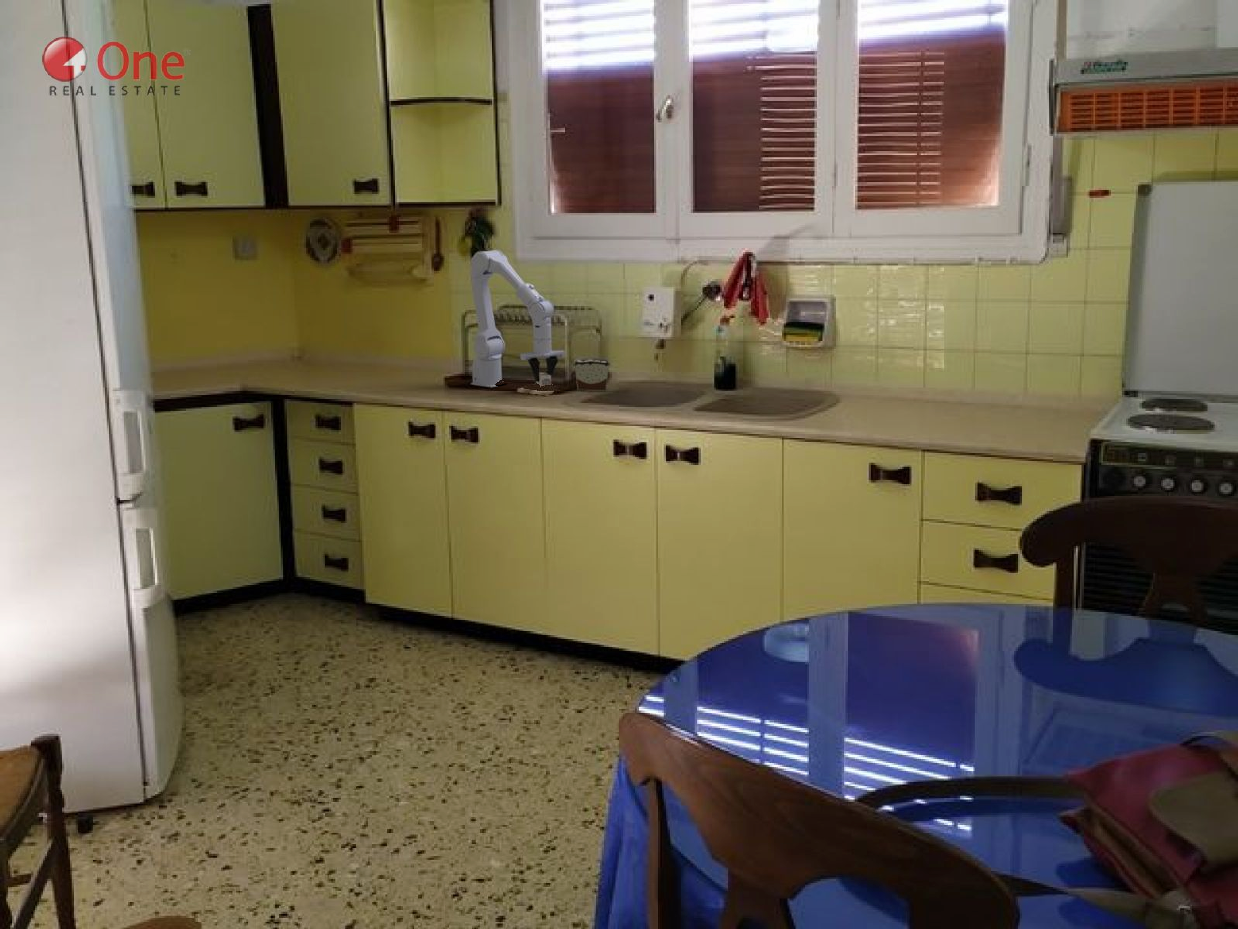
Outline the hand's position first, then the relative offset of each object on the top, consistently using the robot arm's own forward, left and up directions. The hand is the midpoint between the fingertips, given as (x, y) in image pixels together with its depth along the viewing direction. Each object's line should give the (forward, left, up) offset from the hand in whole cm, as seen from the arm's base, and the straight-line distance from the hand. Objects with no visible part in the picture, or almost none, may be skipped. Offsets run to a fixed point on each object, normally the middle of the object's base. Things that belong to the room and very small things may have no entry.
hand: (543, 380), depth 379 cm
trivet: (0, 0, -3) cm, 3 cm away
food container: (+11, +12, -4) cm, 17 cm away
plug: (0, 0, -2) cm, 2 cm away
